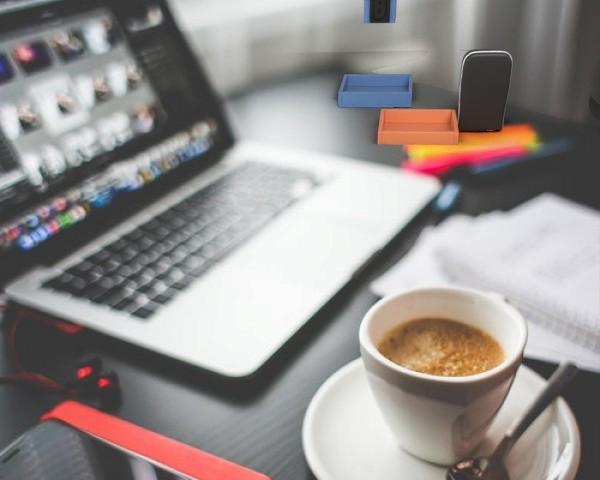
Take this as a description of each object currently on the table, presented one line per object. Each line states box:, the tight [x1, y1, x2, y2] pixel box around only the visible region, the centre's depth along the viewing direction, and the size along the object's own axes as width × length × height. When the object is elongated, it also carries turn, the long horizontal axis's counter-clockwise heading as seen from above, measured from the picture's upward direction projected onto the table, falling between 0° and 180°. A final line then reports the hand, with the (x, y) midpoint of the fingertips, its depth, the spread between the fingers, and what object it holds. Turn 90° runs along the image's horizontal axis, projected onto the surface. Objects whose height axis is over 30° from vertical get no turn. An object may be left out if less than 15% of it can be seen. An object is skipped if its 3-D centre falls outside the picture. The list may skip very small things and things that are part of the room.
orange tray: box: [377, 108, 460, 146], centre depth 93 cm, size 11×10×2 cm
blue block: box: [363, 0, 398, 24], centre depth 101 cm, size 5×5×5 cm
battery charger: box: [457, 48, 513, 132], centre depth 92 cm, size 7×4×11 cm, turn 84°
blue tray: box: [337, 73, 413, 109], centre depth 109 cm, size 12×11×2 cm
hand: (380, 17), depth 102 cm, fingers closed on blue block, 5 cm apart
